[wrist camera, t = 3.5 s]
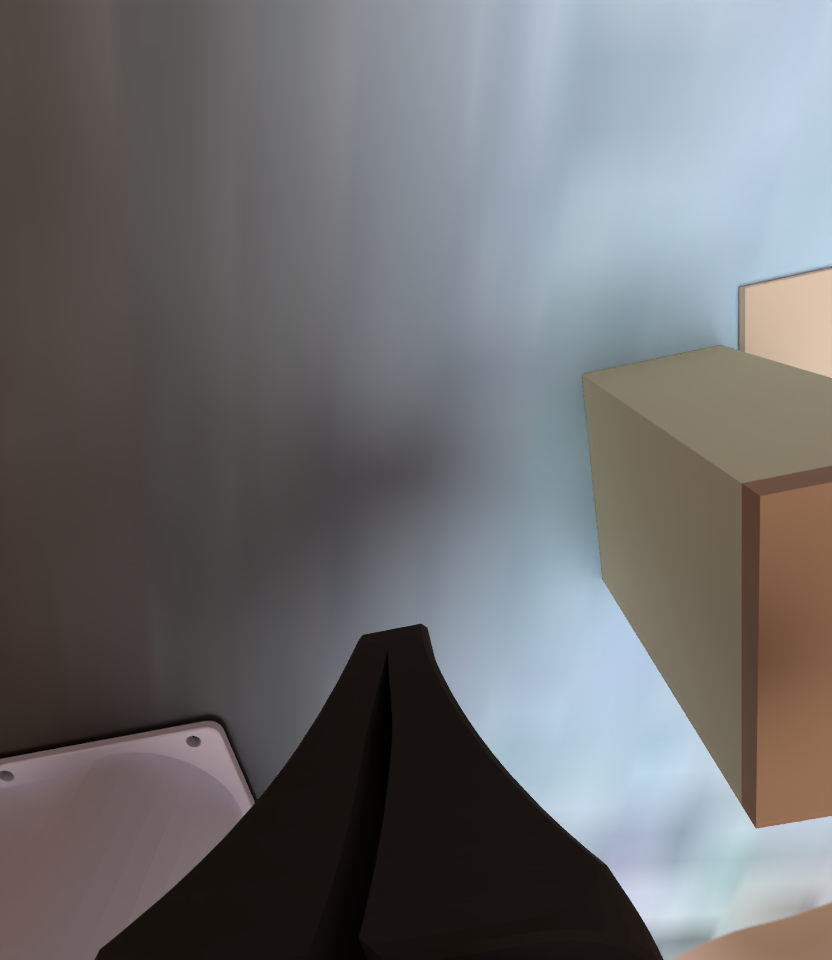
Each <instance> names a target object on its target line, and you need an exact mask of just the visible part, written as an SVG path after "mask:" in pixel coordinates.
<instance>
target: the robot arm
mask: <svg viewBox="0 0 832 960" xmlns="http://www.w3.org/2000/svg"><path fill="white" fill-rule="evenodd" d="M192 736H196V737H198V738H199V739H196V738H194V737H192ZM0 960H663V958H662V956H661V954H660V951H659V949H658V947H657V945H656V943H655V941H654V940H653V938H652V936H651V934H650V932H649V930H648V929H647V927H646V925H645V923H644V922H643V920H642V918H641V917H640V915H639V913H638V912H637V910H636V909H635V907H634V905H633V904H632V902H631V901H630V899H629V898H628V896H627V895H626V893H625V892H624V890H623V889H622V887H621V886H620V884H619V883H618V881H617V880H616V878H615V877H614V875H613V874H612V872H611V871H610V869H609V868H608V866H607V865H606V864H605V863H603V862H602V861H601V860H600V859H599V858H597V857H596V856H595V855H594V854H592V853H591V852H590V851H589V850H588V849H586V848H585V847H584V846H583V845H582V844H581V843H579V842H578V841H577V840H576V839H575V838H574V837H573V836H571V835H570V834H569V833H568V832H567V831H566V830H565V829H564V828H562V827H561V826H560V825H559V824H558V823H557V822H556V821H555V820H554V819H553V818H552V817H551V816H550V815H549V814H548V813H547V812H546V811H545V810H543V809H542V808H541V807H540V806H539V804H538V803H537V802H536V801H535V800H534V799H533V798H532V797H531V796H530V795H529V794H528V793H527V792H526V791H525V790H524V789H523V787H522V786H521V785H520V784H519V783H518V782H517V781H516V780H515V779H514V778H513V777H512V776H511V775H510V774H509V772H508V771H507V770H506V769H505V768H504V766H503V765H502V764H501V763H500V762H499V760H498V759H497V758H496V757H495V756H494V754H493V753H492V752H491V750H490V749H489V748H488V747H487V745H486V744H485V743H484V741H483V740H482V739H481V737H480V736H479V735H478V733H477V732H476V730H475V729H474V727H473V726H472V725H471V723H470V722H469V720H468V719H467V717H466V715H465V714H464V712H463V711H462V709H461V708H460V706H459V704H458V703H457V701H456V699H455V698H454V696H453V694H452V693H451V691H450V689H449V687H448V685H447V683H446V681H445V679H444V677H443V675H442V674H441V671H440V669H439V667H438V665H437V663H436V660H435V657H434V653H433V649H432V645H431V641H430V636H429V632H428V628H427V627H425V626H424V625H422V624H417V625H412V626H407V627H402V628H396V629H391V630H386V631H381V632H376V633H370V634H365V635H362V637H361V638H360V639H359V641H358V643H357V645H356V647H355V649H354V651H353V653H352V655H351V657H350V659H349V661H348V663H347V665H346V667H345V669H344V671H343V673H342V674H341V676H340V678H339V680H338V682H337V684H336V686H335V687H334V689H333V691H332V693H331V694H330V696H329V698H328V700H327V701H326V703H325V705H324V707H323V708H322V710H321V712H320V713H319V715H318V717H317V718H316V720H315V721H314V723H313V725H312V726H311V728H310V729H309V731H308V732H307V734H306V735H305V737H304V738H303V740H302V742H301V743H300V745H299V746H298V748H297V749H296V751H295V752H294V753H293V755H292V756H291V758H290V759H289V761H288V762H287V763H286V765H285V766H284V767H283V769H282V770H281V771H280V773H279V774H278V775H277V777H276V778H275V779H274V781H273V782H272V783H271V784H270V786H269V787H268V788H267V790H266V791H265V792H264V793H263V795H262V796H261V797H260V798H259V799H258V800H257V802H256V803H255V802H254V799H253V797H252V795H251V792H250V790H249V788H248V785H247V783H246V781H245V778H244V776H243V773H242V771H241V769H240V766H239V764H238V762H237V759H236V757H235V755H234V752H233V750H232V748H231V745H230V743H229V741H228V738H227V736H226V734H225V731H224V729H223V728H222V726H221V725H220V724H218V723H217V722H214V721H203V722H197V723H192V724H186V725H181V726H176V727H170V728H165V729H159V730H154V731H149V732H143V733H138V734H132V735H127V736H122V737H116V738H111V739H105V740H100V741H95V742H89V743H84V744H78V745H73V746H68V747H62V748H57V749H51V750H46V751H41V752H35V753H30V754H24V755H19V756H14V757H8V758H3V759H0Z"/></svg>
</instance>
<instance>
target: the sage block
mask: <svg viewBox="0 0 832 960" xmlns="http://www.w3.org/2000/svg"><path fill="white" fill-rule="evenodd" d="M582 383H583V393H584V403H585V413H586V423H587V432H588V442H589V452H590V462H591V472H592V481H593V491H594V501H595V511H596V521H597V530H598V540H599V550H600V560H601V570H602V579H603V581H604V583H605V584H606V586H607V588H608V589H609V591H610V592H611V594H612V596H613V597H614V599H615V601H616V602H617V604H618V605H619V607H620V609H621V610H622V612H623V614H624V615H625V617H626V618H627V620H628V622H629V623H630V625H631V627H632V628H633V630H634V631H635V633H636V635H637V636H638V638H639V639H640V641H641V643H642V644H643V646H644V648H645V649H646V651H647V652H648V654H649V656H650V657H651V659H652V661H653V662H654V664H655V665H656V667H657V669H658V670H659V672H660V674H661V675H662V677H663V678H664V680H665V682H666V683H667V685H668V687H669V688H670V690H671V691H672V693H673V695H674V696H675V698H676V699H677V701H678V703H679V704H680V706H681V708H682V709H683V711H684V712H685V714H686V716H687V717H688V719H689V721H690V722H691V724H692V725H693V727H694V729H695V730H696V732H697V734H698V735H699V737H700V738H701V740H702V742H703V743H704V745H705V747H706V748H707V750H708V751H709V753H710V755H711V756H712V758H713V759H714V761H715V763H716V764H717V766H718V768H719V769H720V771H721V772H722V774H723V776H724V777H725V779H726V781H727V782H728V784H729V785H730V787H731V789H732V790H733V792H734V794H735V795H736V797H737V798H738V800H739V802H740V803H741V805H742V807H743V808H744V810H745V811H746V813H747V815H748V816H749V818H750V820H751V821H752V823H753V824H754V826H755V828H762V827H768V826H774V825H780V824H786V823H791V822H797V821H803V820H809V819H815V818H821V817H827V816H832V378H830V377H827V376H824V375H820V374H817V373H813V372H810V371H807V370H803V369H800V368H797V367H793V366H790V365H786V364H783V363H780V362H776V361H773V360H770V359H766V358H763V357H759V356H756V355H753V354H749V353H746V352H743V351H739V350H736V349H733V348H729V347H726V346H722V345H718V346H714V347H709V348H704V349H699V350H694V351H690V352H685V353H680V354H675V355H670V356H666V357H661V358H656V359H651V360H647V361H642V362H637V363H632V364H627V365H623V366H618V367H613V368H608V369H603V370H599V371H594V372H589V373H584V374H582Z"/></svg>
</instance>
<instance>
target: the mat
mask: <svg viewBox="0 0 832 960" xmlns="http://www.w3.org/2000/svg"><path fill="white" fill-rule="evenodd" d="M739 351H743V352H746V353H749V354H753V355H756V356H759V357H763V358H766V359H770V360H773V361H776V362H780V363H783V364H786V365H790V366H793V367H797V368H800V369H803V370H807V371H810V372H813V373H817V374H820V375H824V376H827V377H830V378H832V268H827V269H822V270H818V271H813V272H808V273H804V274H799V275H794V276H790V277H785V278H780V279H776V280H771V281H766V282H762V283H757V284H752V285H747V286H743V287H739Z"/></svg>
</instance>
